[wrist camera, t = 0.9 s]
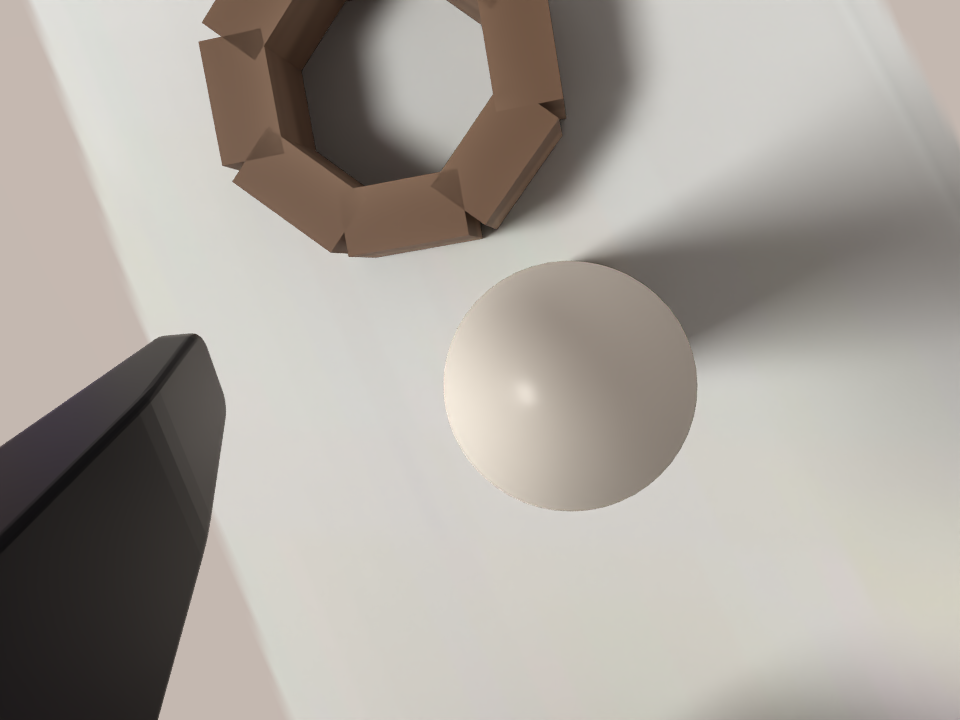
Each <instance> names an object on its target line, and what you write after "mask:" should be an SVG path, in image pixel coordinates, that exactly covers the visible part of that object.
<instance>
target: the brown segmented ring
mask: <svg viewBox="0 0 960 720" xmlns="http://www.w3.org/2000/svg"><path fill="white" fill-rule="evenodd" d="M346 1H351V0H215V2H214V3H213V5H212V7H211V8H210V10H209V12H208V13H207V15H206V17H205V18H204V20H203V22H202V23H203V24H205V25H206V26H207V27H209V28H210V29H212V30H213V31H214V32H216V33H217V34H219V35H220V36H221V37H218V38H213V39H209V40H204V41H200V42H199V47H200V52H201V57H202V62H203V67H204V73H205V78H206V83H207V88H208V93H209V99H210V104H211V109H212V114H213V119H214V124H215V130H216V135H217V140H218V145H219V150H220V156H221V161H222V166H225V167H229V168H233V169H236V170H239V172H238V174H237V175H236V177H235V178H234V180H233V181H232V182H234V183H235V184H236V185H238V186H239V187H241V188H242V189H243V190H245V191H246V192H247V193H249V194H250V195H252V196H253V197H254V198H256V199H257V200H259V201H260V202H261V203H263V204H264V205H265V206H267V207H268V208H270V209H271V210H272V211H274V212H275V213H277V214H278V215H279V216H281V217H282V218H284V219H285V220H286V221H288V222H289V223H290V224H292V225H293V226H295V227H296V228H297V229H299V230H300V231H302V232H303V233H304V234H306V235H307V236H308V237H310V238H311V239H313V240H314V241H315V242H317V243H318V244H320V245H321V246H322V247H324V248H325V249H326V250H328V251H329V252H331V253H348V256H349V257H372V258H377V257H382V256H388V255H394V254H399V253H405V252H411V251H416V250H422V249H427V248H433V247H439V246H444V245H450V244H456V243H461V242H467V241H472V240H478V239H483V238H482V232H481V226H480V222H482V223H483V224H484V225H487V226H489V227H492V228H494V229H498V227H499V226H500V224H501V223H502V222H503V220H504V219H505V217H506V216H507V214H508V213H509V211H510V210H511V209H512V207H513V206H514V204H515V203H516V201H517V200H518V199H519V197H520V196H521V194H522V193H523V191H524V190H525V188H526V187H527V186H528V184H529V183H530V181H531V180H532V178H533V177H534V176H535V174H536V173H537V171H538V170H539V168H540V167H541V166H542V164H543V163H544V161H545V160H546V158H547V157H548V155H549V154H550V153H551V151H552V150H553V148H554V147H555V145H556V144H557V143H558V141H559V140H560V138H561V137H562V132H561V126H560V121H559V120H560V119H566V113H565V106H564V99H563V92H562V86H561V80H560V73H559V67H558V61H557V55H556V48H555V42H554V36H553V29H552V23H551V17H550V10H549V4H548V0H447V1H448V2H450V3H451V4H453V5H454V6H456V7H457V8H458V9H460V10H461V11H463V12H464V13H465V14H467V15H468V16H470V17H471V18H473V19H474V20H475V21H477V22H478V23H480V24H481V25H482V29H483V35H484V41H485V47H486V53H487V59H488V65H489V71H490V78H491V84H492V90H493V95H492V97H491V98H490V100H489V101H488V103H487V104H486V106H485V107H484V108H483V110H482V111H481V113H480V114H479V116H478V117H477V119H476V120H475V122H474V123H473V125H472V126H471V128H470V129H469V131H468V132H467V134H466V135H465V137H464V138H463V140H462V141H461V142H460V144H459V145H458V147H457V148H456V150H455V151H454V153H453V154H452V156H451V157H450V159H449V160H448V162H447V163H446V165H445V166H444V168H443V169H442V171H441V172H437V173H431V174H426V175H421V176H415V177H410V178H405V179H400V180H394V181H389V182H384V183H378V184H373V185H368V186H364V185H362V184H361V183H360V182H358V181H357V180H355V179H354V178H353V177H351V176H350V175H348V174H347V173H346V172H344V171H343V170H341V169H340V168H339V167H337V166H336V165H334V164H333V163H332V162H330V161H329V160H328V159H326V158H325V157H323V156H322V155H321V154H319V153H318V152H316V148H315V143H314V137H313V132H312V126H311V121H310V115H309V110H308V104H307V99H306V93H305V88H304V83H303V77H302V72H301V71H302V69H303V68H304V66H305V65H306V63H307V61H308V60H309V58H310V57H311V55H312V53H313V52H314V50H315V49H316V47H317V46H318V44H319V42H320V41H321V39H322V38H323V36H324V35H325V33H326V31H327V30H328V28H329V27H330V25H331V23H332V22H333V20H334V19H335V17H336V16H337V14H338V12H339V11H340V9H341V8H342V6H343V5H344V3H345V2H346Z"/></svg>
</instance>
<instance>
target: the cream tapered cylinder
mask: <svg viewBox="0 0 960 720" xmlns="http://www.w3.org/2000/svg"><path fill="white" fill-rule="evenodd" d="M444 400H445V408H446V412H447V416H448V420H449V423H450V426H451V429H452V431H453V434H454V436H455V439H456V440H457V442H458V444H459V446H460V448H461V450H462V451H463V453H464V454H465V456H466V457H467V458H468V460H469V461H470V463H471V464H472V465H473V466H474V467H475V468H476V469H477V471H478V472H479V473H480V474H481V475H482V476H483V477H484V478H486V479H487V480H488V481H489V482H490V483H492V484H493V485H494V486H495V487H497V488H498V489H500V490H501V491H503V492H505V493H506V494H508V495H509V496H511V497H514V498H516V499H518V500H520V501H522V502H524V503H528V504H531V505H534V506H537V507H540V508H546V509H551V510H558V511H583V510H591V509H596V508H602V507H606V506H609V505H612V504H614V503H617V502H620V501H622V500H624V499H626V498H628V497H630V496H633V495H635V494H636V493H638V492H639V491H641V490H642V489H644V488H645V487H647V486H648V485H649V484H650V483H652V482H653V481H654V480H655V479H656V478H657V477H659V476H660V475H661V474H662V473H663V471H664V470H665V469H666V468H667V467H668V466H669V465H670V464H671V462H672V461H673V459H674V458H675V456H676V455H677V453H678V452H679V450H680V449H681V447H682V445H683V443H684V441H685V439H686V437H687V435H688V432H689V430H690V427H691V424H692V421H693V417H694V412H695V407H696V401H697V375H696V366H695V362H694V357H693V353H692V350H691V347H690V344H689V341H688V339H687V336H686V334H685V332H684V330H683V329H682V327H681V325H680V323H679V321H678V320H677V318H676V317H675V315H674V314H673V313H672V311H671V310H670V308H669V307H668V306H667V305H666V304H665V303H664V302H663V301H662V300H661V299H660V298H659V297H658V295H656V294H655V293H654V292H653V291H651V290H650V289H649V288H648V287H647V286H645V285H644V284H642V283H641V282H639V281H638V280H636V279H634V278H633V277H631V276H629V275H627V274H625V273H623V272H620V271H618V270H616V269H613V268H610V267H606V266H603V265H600V264H595V263H588V262H582V261H559V262H550V263H545V264H540V265H536V266H532V267H529V268H527V269H524V270H521V271H519V272H516V273H514V274H513V275H511V276H509V277H507V278H505V279H503V280H501V281H500V282H499V283H497V284H496V285H495V286H493V287H492V288H490V289H489V290H488V291H487V292H486V293H485V294H484V295H483V296H482V297H480V298H479V299H478V300H477V301H476V302H475V304H474V305H473V306H472V307H471V309H470V310H469V311H468V312H467V314H466V315H465V317H464V318H463V320H462V322H461V323H460V325H459V326H458V328H457V330H456V333H455V335H454V337H453V339H452V342H451V344H450V348H449V351H448V355H447V358H446V364H445V371H444Z"/></svg>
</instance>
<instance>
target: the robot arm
mask: <svg viewBox="0 0 960 720" xmlns="http://www.w3.org/2000/svg"><path fill="white" fill-rule="evenodd" d="M225 417H226V405H225V398H224V394H223V391H222V388H221V385H220V383H219V380H218V377H217V374H216V371H215V369H214V366H213V363H212V360H211V357H210V354H209V352H208V349H207V346H206V344H205V342H204V341H203V339H202V338H201V337H200V336H198V335H197V334H179V335H168V336H161V337H158V338H157V339H155V340H154V341H152V342H151V343H149V344H148V345H146V346H145V347H143V348H142V349H141V350H139V351H138V352H136V353H135V354H133V355H132V356H130V357H129V358H128V359H126V360H125V361H123V362H122V363H120V364H119V365H117V366H116V367H115V368H113V369H112V370H110V371H109V372H107V373H106V374H105V375H103V376H102V377H100V378H99V379H97V380H96V381H94V382H93V383H91V384H90V385H89V386H87V387H86V388H84V389H83V390H81V391H80V392H79V393H77V394H76V395H74V396H73V397H71V398H70V399H68V400H67V401H66V402H64V403H63V404H62V405H60V406H58V407H57V408H55V409H54V410H52V411H51V412H50V413H48V414H47V415H46V416H44V417H42V418H41V419H39V420H38V421H37V422H35V423H34V424H32V425H31V426H30V427H28V428H27V429H25V430H24V431H23V432H21V433H19V434H18V435H16V436H15V437H14V438H12V439H11V440H9V441H8V442H6V443H5V444H3V445H2V446H1V447H0V720H158V717H159V714H160V710H161V707H162V703H163V699H164V695H165V692H166V688H167V684H168V681H169V677H170V674H171V670H172V667H173V663H174V659H175V656H176V652H177V649H178V645H179V641H180V637H181V634H182V630H183V626H184V623H185V619H186V616H187V612H188V609H189V605H190V601H191V598H192V594H193V590H194V587H195V583H196V579H197V576H198V572H199V569H200V565H201V561H202V558H203V554H204V549H205V546H206V541H207V537H208V532H209V526H210V520H211V514H212V507H213V500H214V493H215V487H216V480H217V473H218V466H219V459H220V452H221V445H222V438H223V432H224V425H225Z"/></svg>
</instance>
